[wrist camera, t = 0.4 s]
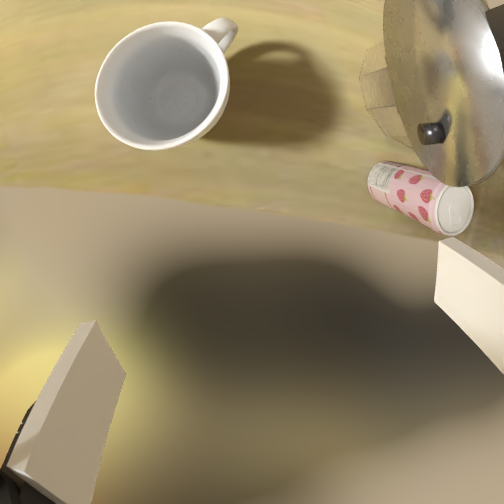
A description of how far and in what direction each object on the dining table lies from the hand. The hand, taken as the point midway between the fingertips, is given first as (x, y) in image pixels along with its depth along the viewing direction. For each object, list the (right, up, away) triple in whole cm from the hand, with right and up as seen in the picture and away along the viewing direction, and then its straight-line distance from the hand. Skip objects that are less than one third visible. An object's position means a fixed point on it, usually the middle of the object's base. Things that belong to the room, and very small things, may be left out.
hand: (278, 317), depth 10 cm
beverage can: (+17, +12, +27) cm, 34 cm away
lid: (+13, +15, +5) cm, 20 cm away
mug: (-8, +21, +21) cm, 31 cm away
